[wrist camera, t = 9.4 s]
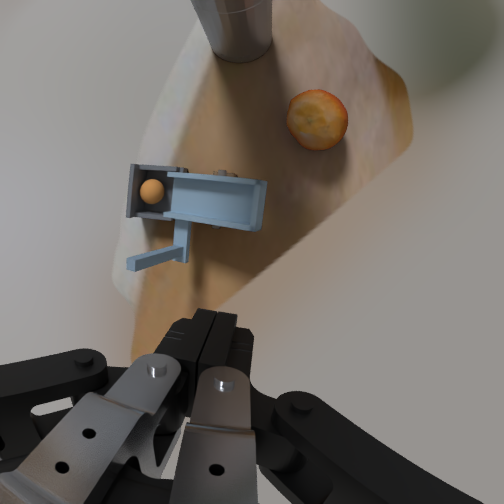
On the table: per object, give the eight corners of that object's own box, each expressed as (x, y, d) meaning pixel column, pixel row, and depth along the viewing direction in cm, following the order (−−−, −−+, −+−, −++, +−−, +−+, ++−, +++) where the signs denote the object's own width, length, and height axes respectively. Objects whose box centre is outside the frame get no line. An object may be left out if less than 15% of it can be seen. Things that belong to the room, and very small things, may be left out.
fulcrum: (218, 171, 40) (211, 168, 35) (237, 173, 40) (232, 171, 35) (212, 222, 42) (204, 227, 36) (231, 224, 42) (225, 229, 36)
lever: (178, 173, 37) (124, 167, 27) (267, 181, 33) (232, 173, 24) (170, 257, 39) (118, 274, 29) (255, 277, 36) (218, 304, 26)
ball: (166, 180, 41) (143, 178, 40) (164, 179, 38) (139, 178, 37) (164, 203, 42) (140, 202, 41) (162, 205, 38) (137, 204, 37)
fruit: (365, 132, 37) (354, 135, 30) (319, 154, 42) (299, 162, 35) (336, 83, 35) (319, 76, 29) (292, 108, 40) (268, 108, 34)
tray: (145, 166, 41) (130, 163, 36) (187, 168, 40) (177, 166, 35) (140, 214, 42) (126, 217, 37) (182, 218, 42) (171, 222, 37)
